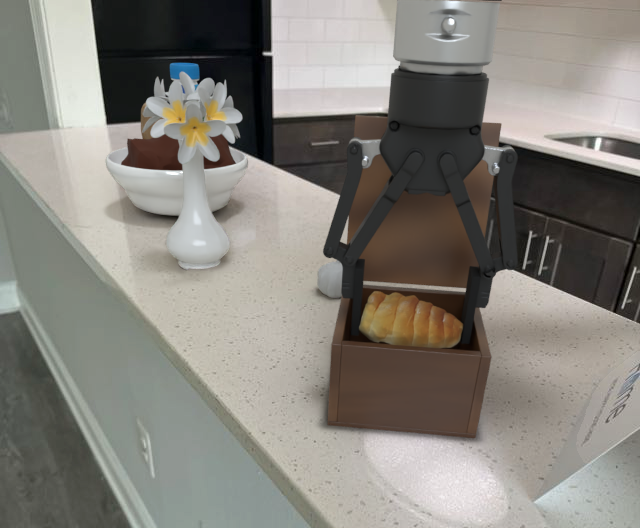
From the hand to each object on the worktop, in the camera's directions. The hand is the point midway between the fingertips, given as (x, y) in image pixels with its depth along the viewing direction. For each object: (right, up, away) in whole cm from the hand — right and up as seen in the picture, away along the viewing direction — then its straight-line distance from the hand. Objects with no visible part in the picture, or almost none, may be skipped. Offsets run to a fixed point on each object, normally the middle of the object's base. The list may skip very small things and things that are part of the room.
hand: (409, 333), depth 62 cm
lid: (+1, +13, +3) cm, 13 cm away
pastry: (-1, 0, 0) cm, 1 cm away
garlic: (-6, +9, +27) cm, 30 cm away
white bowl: (-34, +31, +60) cm, 76 cm away
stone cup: (-43, +45, +79) cm, 101 cm away
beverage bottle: (-41, +59, +101) cm, 124 cm away
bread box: (0, -6, +5) cm, 8 cm away
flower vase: (-26, +15, +35) cm, 46 cm away
